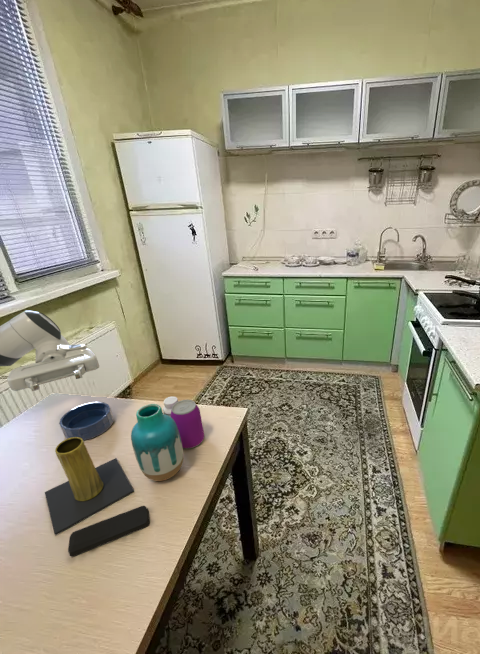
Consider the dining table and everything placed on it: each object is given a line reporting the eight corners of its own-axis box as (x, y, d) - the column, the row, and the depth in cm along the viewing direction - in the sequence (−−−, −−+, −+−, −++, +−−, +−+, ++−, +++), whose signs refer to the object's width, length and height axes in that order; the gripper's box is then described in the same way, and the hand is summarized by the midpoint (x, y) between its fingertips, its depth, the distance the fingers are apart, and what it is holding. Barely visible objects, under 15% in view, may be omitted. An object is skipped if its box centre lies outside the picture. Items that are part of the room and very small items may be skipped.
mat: (55, 535, 67) (54, 533, 67) (45, 493, 77) (44, 492, 76) (134, 491, 77) (133, 490, 76) (116, 459, 86) (116, 457, 86)
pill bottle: (172, 417, 101) (166, 394, 97) (187, 418, 100) (182, 395, 96) (163, 429, 96) (157, 404, 92) (180, 430, 96) (174, 405, 92)
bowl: (69, 448, 90) (64, 436, 88) (61, 426, 99) (55, 414, 97) (119, 427, 98) (115, 415, 96) (107, 408, 107) (103, 396, 105)
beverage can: (194, 453, 87) (186, 418, 82) (171, 446, 90) (162, 411, 84) (210, 435, 94) (204, 401, 88) (188, 429, 96) (181, 395, 91)
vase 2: (136, 470, 82) (116, 409, 74) (176, 450, 88) (162, 391, 80) (152, 496, 75) (132, 432, 66) (194, 472, 81) (180, 411, 73)
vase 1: (72, 505, 73) (49, 459, 66) (76, 485, 78) (55, 440, 71) (102, 496, 75) (83, 449, 69) (104, 476, 80) (86, 432, 74)
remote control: (148, 509, 73) (70, 537, 67) (147, 503, 72) (68, 531, 66) (150, 527, 69) (68, 558, 63) (149, 521, 68) (65, 553, 62)
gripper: (4, 362, 86) (0, 384, 76) (91, 342, 96) (97, 359, 86) (14, 382, 89) (11, 406, 79) (97, 360, 99) (104, 379, 89)
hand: (57, 381), depth 82 cm, fingers open, 8 cm apart
